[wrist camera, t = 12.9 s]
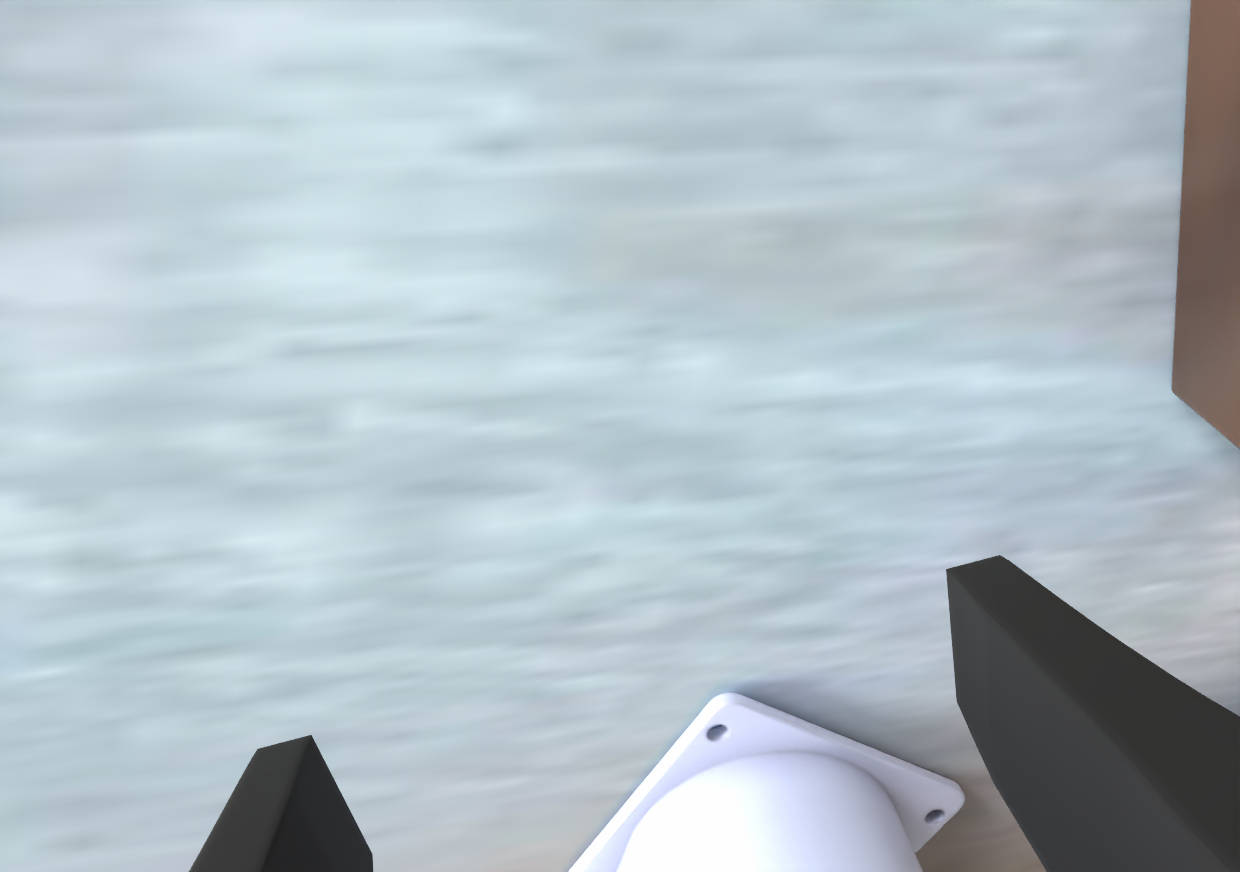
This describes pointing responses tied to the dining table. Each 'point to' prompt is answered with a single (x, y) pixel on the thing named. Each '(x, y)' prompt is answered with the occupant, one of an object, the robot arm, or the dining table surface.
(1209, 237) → the walnut box
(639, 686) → the dining table surface
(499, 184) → the dining table surface
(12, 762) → the dining table surface
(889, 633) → the dining table surface
